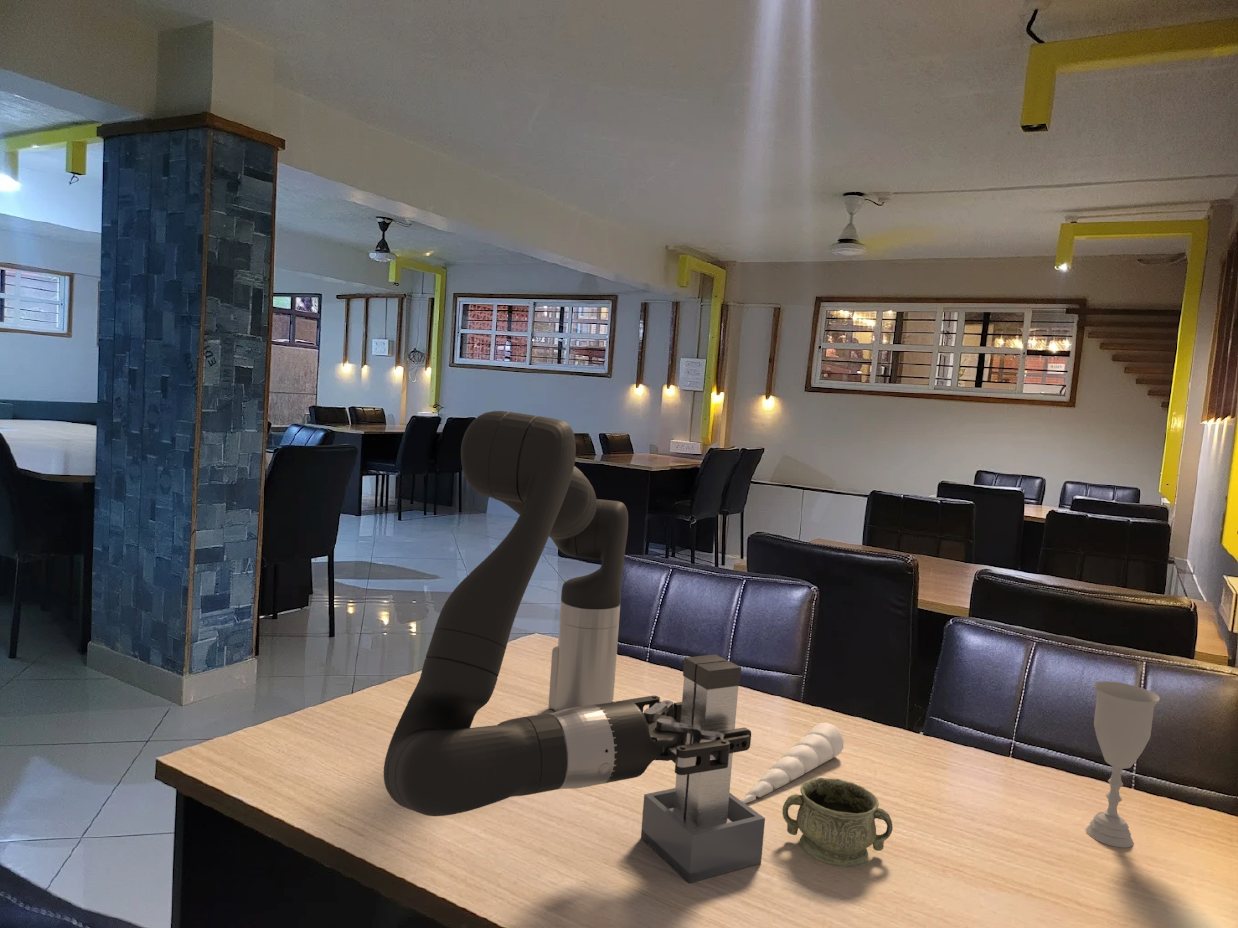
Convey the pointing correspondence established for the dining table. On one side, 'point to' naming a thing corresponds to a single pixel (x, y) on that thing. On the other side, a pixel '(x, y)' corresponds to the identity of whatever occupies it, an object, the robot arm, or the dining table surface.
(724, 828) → the grey open storage bin
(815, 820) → the vessel
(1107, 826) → the chalice
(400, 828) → the dining table surface
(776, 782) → the unicorn horn
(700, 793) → the split metal pillar
